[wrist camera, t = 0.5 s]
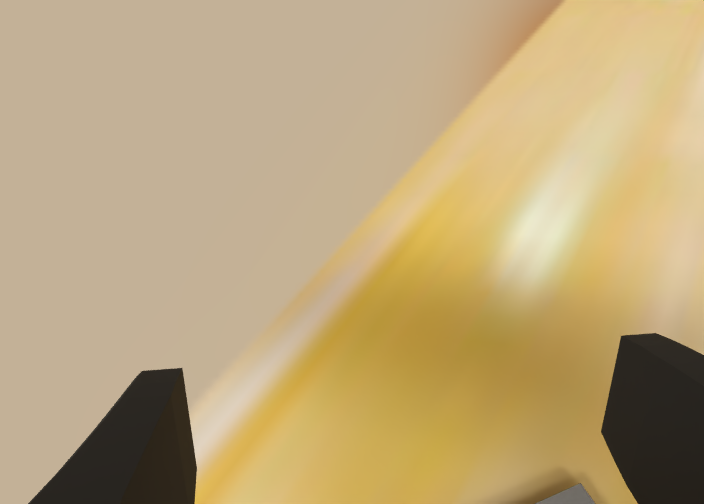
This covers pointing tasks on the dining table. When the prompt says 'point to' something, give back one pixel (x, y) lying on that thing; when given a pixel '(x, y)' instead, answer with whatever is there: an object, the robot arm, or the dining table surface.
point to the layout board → (570, 497)
